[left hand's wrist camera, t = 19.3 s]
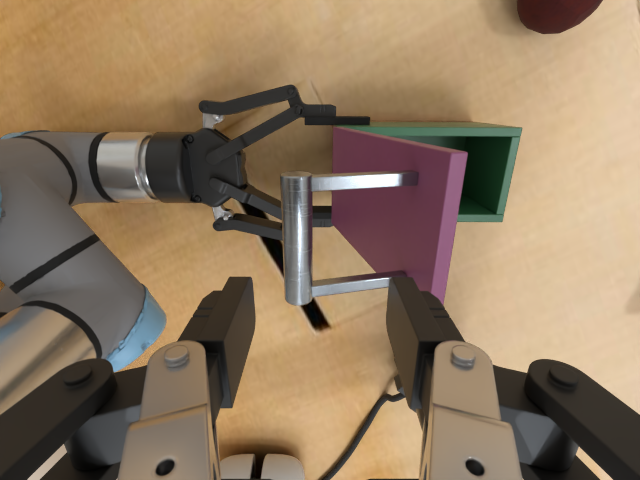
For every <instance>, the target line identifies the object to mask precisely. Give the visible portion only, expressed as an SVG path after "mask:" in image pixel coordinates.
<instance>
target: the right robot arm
mask: <svg viewBox="0 0 640 480" xmlns="http://www.w3.org/2000/svg"><path fill="white" fill-rule="evenodd" d="M286 100H288V102H289V105H290V107H291V108H289V109H287V110H286V111H284V112H282V113H280V114H278V115H277V116H275V117H273V118H271V119H270V120H268V121H266V122H264V123H262V124H261V125H259V126H257V127H255V128H254V129H252V130H250V131H248V132H246V133H245V134H243V135H241V136H239V137H237V138H235V139H234V140H230V139H229V138H228V137H226V136H225V135H223V134H222V133H221V132H219V131H218V130H216V129H215V126H216V124H217V123H219V122H223V121H224V120H225V115H229V114H236V113H240V112H243V111H247V110H251V109H255V108H259V107H263V106H266V105H270V104H274V103H278V102H282V101H286ZM199 109H200V111H201V112H202V113H203V128H202V129H200V130H198V131H196V132H157V133H155V134H152V133H150V132H104V133H92V132H50V131H45V130H38V131H25V132H18V133H10V134H7V135H4V136H3V137H2V138H1V139H0V280H1V281H2V282H3V283H4V284H5V286H4V287H3V289H2V290H1V291H0V415H1V414H2V413H3V412H5V411H6V410H7V409H9V408H10V407H11V406H13V405H14V404H15V403H17V402H18V401H19V400H21V399H22V398H23V397H25V396H26V395H27V394H29V393H30V392H31V391H33V390H34V389H35V388H37V387H38V386H39V385H41V384H42V383H43V382H45V381H46V380H47V379H49V378H50V377H51V376H53V375H54V374H55V373H57V372H58V371H60V370H61V369H63V368H65V367H66V366H69V365H71V364H73V363H76V362H78V361H82V360H86V359H92V358H101V359H105V360H108V361H109V362H110V363H111V364H112V367H113V370H114V372H116V371H118V370H120V369H122V368H124V367H126V366H127V365H129V364H130V363H131V362H133V361H134V360H135V359H137V358H138V357H139V356H140V355H141V354H143V353H144V351H145V350H146V349H147V348H148V347H149V346H150V345H152V344H153V343H154V342H155V341H156V340H157V338H158V337H159V336H160V335H161V333H162V332H163V330H164V328H165V325H166V320H167V319H166V314H165V312H164V311H163V310H162V308H161V307H160V306H159V304H158V303H157V302H156V300H155V299H154V298H153V296H152V295H151V294H150V293H149V291H148V289H147V288H146V287H145V286H144V285H143V284H141V283H140V282H139V281H138V280H137V279H136V278H135V277H134V276H133V275H132V273H131V272H130V271H129V270H128V269H127V268H126V267H125V266H124V265H123V264H122V263H121V262H120V261H119V260H118V258H117V257H116V256H115V255H114V254H113V253H112V252H111V251H110V250H109V249H108V248H107V247H106V246H105V244H104V243H103V242H102V241H101V240H100V239H99V238H98V237H97V235H96V234H95V233H94V232H93V231H92V230H91V228H90V227H89V226H88V225H87V224H86V223H85V222H84V221H83V220H82V219H81V217H80V216H79V215H78V214H77V213H76V212H75V211H74V210H73V209H72V206H74V205H77V204H81V203H99V202H116V203H120V202H121V203H157V202H159V201H161V202H164V203H204V204H206V205H208V206H210V207H212V209H213V213H214V217H215V222H214V223H213V228H214V229H215V230H216V231H225V230H238V231H242V232H247V233H251V234H256V235H260V236H264V237H269V238H273V239H278V240H282V241H283V233H282V223H280V222H275V221H271V220H267V219H262V218H258V217H254V216H249V215H245V214H239V213H234V212H233V211H232V210H231V209H227V208H225V207H224V206H223V204H224V203H225V202H226V201H228V200H229V199H230V198H234V199H236V200H238V201H240V202H242V203H247V204H250V205H252V206H254V207H256V208H258V209H260V210H262V211H264V212H266V213H268V214H270V215H272V216H274V217H276V218H279V219H281V220H282V207H281V201H279V200H277V199H275V198H273V197H271V196H269V195H267V194H265V193H263V192H261V191H259V190H257V189H255V188H254V187H253V186H252V185H250V184H248V183H246V181H247V174H246V171H245V168H244V165H245V160H246V159H245V153H244V152H243V150H242V149H243V148H245V147H247V146H249V145H251V144H252V143H254V142H256V141H258V140H260V139H261V138H263V137H265V136H267V135H269V134H270V133H272V132H274V131H276V130H278V129H280V128H281V127H283V126H285V125H287V124H289V123H290V122H292V121H294V120H296V119H298V118H299V117H305V125H370V117H367V116H336V107H335V106H333V105H308V104H305V103H303V102H302V100H301V98H300V95H299V92H298V89H297V88H296V87H295V86H294V85H286V86H283V87H279V88H275V89H271V90H268V91H264V92H260V93H256V94H252V95H249V96H245V97H241V98H237V99H234V100H230V101H226V102H218V101H201V102H200V103H199ZM331 219H332V206H312V227H331V226H334V225H333V224H332V223H331Z"/></svg>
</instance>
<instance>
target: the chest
mask: <svg viewBox="0 0 640 480" xmlns="http://www.w3.org/2000/svg"><path fill="white" fill-rule="evenodd" d="M333 127H344V128H349V129H354V130H360V131H365V132H370V133H375V134H380V135H385V136H390V137H395V138H400V139H405V140H410V141H415V142H420V143H425V144H430V145H435V146H440V147H445V148H450V149H455V150H460V151H465V152H467V153H468V155H467V161H466V167H465V174H464V180H463V186H462V192H461V198H460V204H459V211H458V217H457V222H502V221H503V216H504V215H503V214H504V211H505V206H506V201H507V197H508V192H509V187H510V183H511V178H512V173H513V169H514V164H515V159H516V155H517V150H518V145H519V141H520V136H521V132H522V128H521V127H512V126H504V125H495V124H487V123H478V122H438V121H370V125H333ZM332 166H333V159H332Z"/></svg>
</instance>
